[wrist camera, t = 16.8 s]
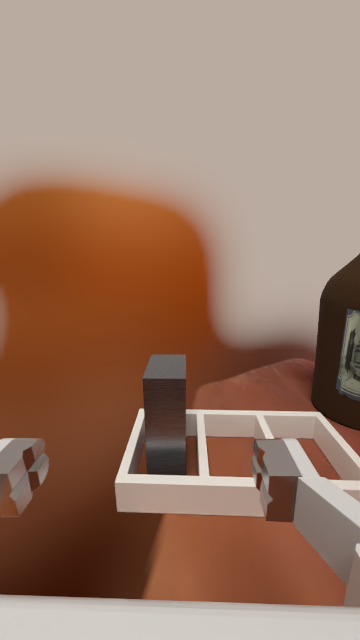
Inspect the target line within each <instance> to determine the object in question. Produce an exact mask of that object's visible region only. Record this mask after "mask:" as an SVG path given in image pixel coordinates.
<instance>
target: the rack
mask: <svg viewBox="0 0 360 640" xmlns="http://www.w3.org/2000/svg"><path fill="white" fill-rule="evenodd" d="M186 436H196V441H197V466H198V476H180V475H146V474H145V475H144V474H137V470H138V466H139V462H140V458H141V454H142V450H143V446H144V442H145V418H144V409H140V410H139V413H138V416H137V419H136V422H135V425H134V428H133V430H132V433H131V436H130V439H129V442H128V445H127V448H126V451H125V454H124V457H123V460H122V463H121V466H120V469H119V472H118V475H117V477H116V480H115V491H116V501H117V511H118V512H144V513H147V512H148V513H172V514H200V515H228V516H256V517H265V516H264V512H263V509H262V506H261V503H260V491H259V490H258V489H257V488H256V486H255V482H254V478H249V477H214V476H209V468H208V457H207V447H206V436H217V437H254V439H274V438H307V439H314V441H315V442H316V444H317V445H318V447H319V448H320V449H321V451H322V452H323V454H324V455H325V456H326V458H327V459H328V461H329V462H330V463H331V465H332V466H333V468H334V469H335V471H336V472H337V473H338V475H339V476H340V478H341V479H342V480H329V481H331V482H332V483H333V484H335V485H336V486H338V487H339V488H340V489H342V490H343V491H344V492H346V493H347V494H349V495H350V496H351V497H353V498H354V499H356V500H357V501H358V502H360V457H359V456H358V455H357V454H356V453H355V452H354V450H353V449H352V448H351V447H350V446H349V445H348V444H347V442H346V441H345V440H344V439H343V438H342V437H341V436H340V435H339V433H338V432H337V431H336V430H335V429H334V428H333V427H332V425H331V424H330V423H329V422H328V421H327V420H326V419H325V417H324V416H323V415H322V414H321V413H320V412H293V411H236V410H186Z"/></svg>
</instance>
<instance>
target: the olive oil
mask: <svg viewBox="0 0 360 640" xmlns="http://www.w3.org/2000/svg"><path fill="white" fill-rule="evenodd" d="M312 403H313V405H314V406H315V407H316V408H317V409H318V410H319V411H320V412H321V413H322V414H324V415H325V416H327V417H328V418H330V419H332V420H334V421H336V422H338V423H340V424H342V425H345V426H348V427H351V428H354V429H358V430H360V254H359V255H358V256H357V257H356V258H354V259H353V260H352V261H351V262H350V263H348V264H347V265H346V266H345V267H343V268H342V269H341V270H340V271H339V272H337V273H336V274H335V275H334V276H332V278H330V280H329V281H328V282H327V284H326V286H325V288H324V290H323V292H322V295H321V298H320V310H319V322H318V335H317V347H316V360H315V369H314V379H313V388H312Z"/></svg>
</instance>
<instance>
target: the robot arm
mask: <svg viewBox="0 0 360 640" xmlns="http://www.w3.org/2000/svg"><path fill="white" fill-rule="evenodd" d="M45 448H46V446H45V443H44V440H42V439H31V438H29V439H28V438H4V439H1V440H0V517H19V516H20V515H21V513H22V512H23V510H24V509H25V507H26V506H27V504H28V503H29V501H30V500H31V499H32V491H33V490H34V489H36V488H37V487H38V486H40V485H41V484H42V482H43V480H44V479H45V477H46V474H47V471H48V467H49V461H48V457H47V456H46V454H45V453H44V452H43V451H44V449H45ZM253 451H254V454H255V455H254V456H253V457H252V472H253V478H254V482H255V486H256V488H257V489H258V490H259V491H260V503H261V506H262V509H263V512H264V516H265V519H266V521H275V522H293V525H294V526H295V527H296V528H297V529H298V530H299V532H300V533H301V534H302V535H303V536H304V537H305V538H306V540H307V541H308V542H309V543H310V544H311V545H312V547H313V548H314V549H315V550H316V551H317V552H318V554H319V555H320V556H321V557H322V558H323V559H324V560H325V562H326V563H327V564H328V565H329V566H330V567H331V569H332V570H333V571H334V572H335V573H336V574H337V576H338V577H339V578H340V579H341V580H342V581H343V582H344V584H345V585H346V586H347V591H346V595H345V600H344V605H343V607H341V606H312V605H284V604H255V603H226V602H197V601H168V600H138V599H109V598H79V597H50V596H47V597H46V596H18V595H0V640H360V502H358V501H357V500H356V499H354V498H353V497H351V496H350V495H349V494H347V493H346V492H344V491H343V490H342V489H340V488H339V487H338V486H336V485H335V484H333V483H332V482H331V481H329V480H328V479H326V478H325V477H320V476H319V474H318V473H317V471H316V470H315V468H314V466H313V465H312V463H311V462H310V460H309V458H308V457H307V455H306V453H305V452H304V450H303V449H302V447H301V445H300V444H299V442H298V440H296V439H295V438H281V439H254V440H253Z"/></svg>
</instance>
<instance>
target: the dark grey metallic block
mask: <svg viewBox="0 0 360 640" xmlns="http://www.w3.org/2000/svg"><path fill="white" fill-rule="evenodd" d="M143 398H144V418H145V438H146V458H147V475H180V476H186V355H151V357H150V360H149V363H148V366H147V368H146V371H145V373H144V376H143Z"/></svg>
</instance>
